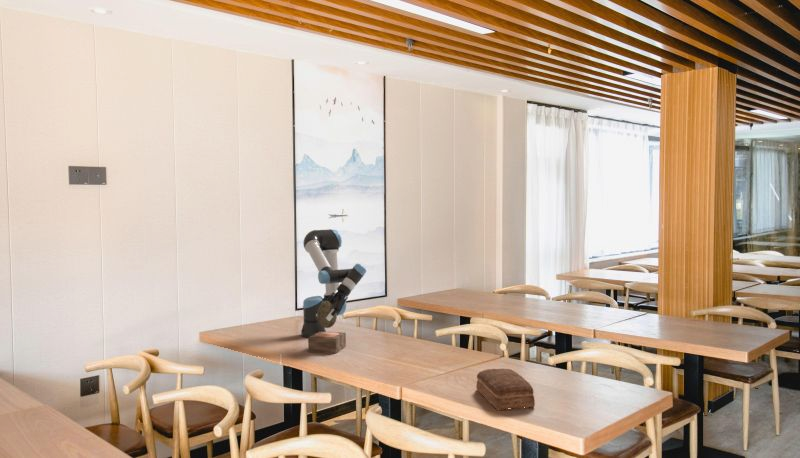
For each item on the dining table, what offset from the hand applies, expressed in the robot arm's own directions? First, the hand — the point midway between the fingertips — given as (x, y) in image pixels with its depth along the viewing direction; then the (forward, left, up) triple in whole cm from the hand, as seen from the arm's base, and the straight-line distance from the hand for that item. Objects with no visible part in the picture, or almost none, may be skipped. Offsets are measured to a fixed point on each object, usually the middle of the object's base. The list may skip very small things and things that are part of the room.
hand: (322, 318), depth 352 cm
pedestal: (-2, +2, -18) cm, 18 cm away
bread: (+66, +105, -18) cm, 125 cm away
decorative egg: (-2, +2, -6) cm, 6 cm away
